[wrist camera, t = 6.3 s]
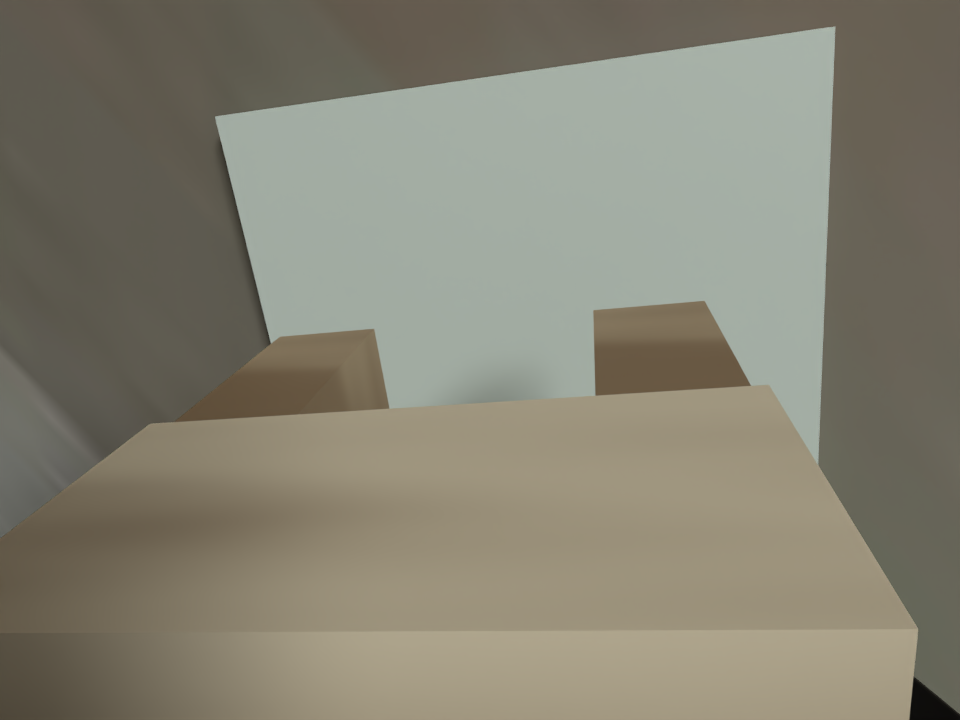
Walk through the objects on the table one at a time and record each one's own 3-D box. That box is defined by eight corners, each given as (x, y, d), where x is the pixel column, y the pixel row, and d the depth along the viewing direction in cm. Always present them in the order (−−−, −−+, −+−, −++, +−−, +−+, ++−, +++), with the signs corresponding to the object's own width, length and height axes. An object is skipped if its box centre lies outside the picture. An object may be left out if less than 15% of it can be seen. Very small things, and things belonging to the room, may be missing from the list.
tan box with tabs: (720, 665, 11) (855, 1255, 5) (352, 663, 12) (150, 1156, 6) (712, 291, 9) (918, 630, 3) (271, 330, 10) (-125, 633, 4)
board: (803, 562, 17) (813, 584, 17) (341, 571, 19) (331, 590, 19) (821, 29, 13) (834, 26, 12) (232, 115, 15) (214, 116, 15)
